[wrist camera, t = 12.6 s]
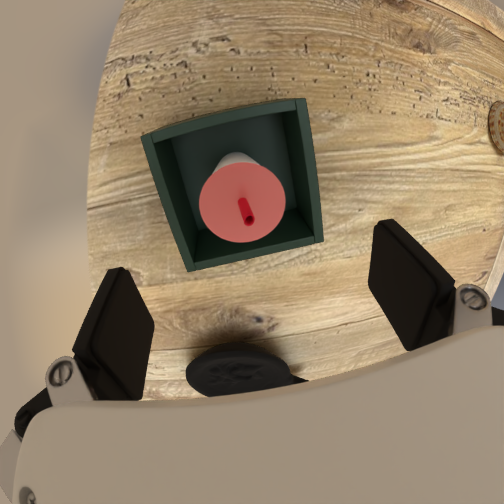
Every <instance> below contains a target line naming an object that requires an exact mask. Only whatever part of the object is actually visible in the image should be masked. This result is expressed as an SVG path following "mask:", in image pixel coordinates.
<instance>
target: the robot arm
mask: <svg viewBox="0 0 504 504" xmlns="http://www.w3.org/2000/svg"><path fill="white" fill-rule="evenodd" d="M454 283H455V280H454V279H453V278H452V277H451V276H450V274H449V273H448V272H447V271H446V270H445V269H444V268H443V267H442V266H441V265H440V264H439V263H438V262H437V261H436V260H435V259H434V258H433V257H432V256H431V255H430V254H429V253H428V251H427V250H425V249H424V248H423V247H422V246H421V245H420V244H419V243H418V242H417V241H416V240H415V239H414V238H413V237H412V236H411V235H410V234H409V233H408V232H407V231H406V230H405V229H404V228H403V227H401V226H400V225H399V224H398V223H397V222H396V221H395V220H394V219H387V220H381V221H379V222H378V223H377V225H375V226H374V231H373V242H372V252H371V261H370V269H369V277H368V286H369V289H370V291H371V292H372V294H373V296H374V297H375V299H376V300H377V302H378V304H379V305H380V307H381V308H382V310H383V312H384V313H385V315H386V317H387V318H388V320H389V322H390V323H391V325H392V327H393V329H394V330H395V332H396V334H397V336H398V337H399V339H400V341H401V343H402V344H403V346H404V348H405V349H406V350H407V351H410V352H407V353H404V354H401V355H399V356H396V357H393V358H390V359H387V360H384V361H381V362H378V363H375V364H372V365H368V366H365V367H362V368H358V369H355V370H351V371H348V372H344V373H340V374H337V375H333V376H329V377H325V378H321V379H317V380H312V381H308V382H303V383H299V384H294V385H289V386H284V387H278V388H273V389H267V390H261V391H255V392H248V393H241V394H233V395H225V396H216V397H206V398H194V399H179V400H153V401H139V400H141V399H142V397H143V390H144V384H145V377H146V371H147V365H148V360H149V354H150V349H151V343H152V338H153V333H154V321H153V318H152V317H151V315H150V313H149V311H148V309H147V307H146V305H145V303H144V301H143V299H142V297H141V295H140V293H139V291H138V289H137V287H136V285H135V283H134V280H133V278H132V276H131V274H130V272H129V271H128V270H125V269H124V268H123V267H119V268H113V269H109V270H108V271H107V273H106V275H105V277H104V279H103V281H102V283H101V285H100V287H99V289H98V291H97V293H96V295H95V297H94V299H93V302H92V304H91V306H90V308H89V310H88V313H87V315H86V317H85V319H84V322H83V324H82V327H81V329H80V331H79V334H78V336H77V338H76V341H75V344H74V346H73V348H72V351H73V352H74V353H75V355H74V357H73V358H72V357H69V356H64V357H60V358H58V359H57V360H55V361H54V362H53V363H52V364H51V365H50V367H49V368H48V370H47V372H46V377H45V380H46V386H47V387H46V388H45V389H43V390H42V391H41V392H40V393H39V394H37V395H36V396H35V397H34V398H32V399H31V400H30V401H29V402H27V403H26V404H25V405H24V406H22V407H21V409H20V410H19V411H18V412H17V414H16V417H15V423H14V425H15V430H16V431H14V430H13V429H12V430H11V432H10V433H9V435H8V436H7V437H6V439H5V441H4V442H3V443H2V445H1V446H0V486H1V487H2V489H3V491H4V492H5V494H6V496H7V497H8V499H9V500H10V502H11V503H12V504H504V311H503V310H500V309H497V308H494V307H491V301H490V298H489V296H488V294H487V293H486V292H485V291H484V290H483V289H482V288H480V287H479V286H476V285H473V284H462V285H460V286H459V287H458V288H457V289H456V288H455V287H454Z"/></svg>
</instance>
